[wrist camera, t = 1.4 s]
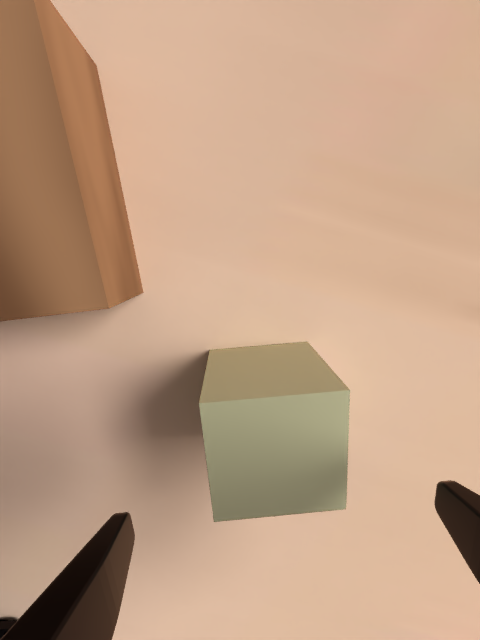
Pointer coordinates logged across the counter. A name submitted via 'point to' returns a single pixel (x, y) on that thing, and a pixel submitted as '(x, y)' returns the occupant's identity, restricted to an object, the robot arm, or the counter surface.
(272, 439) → the green cube
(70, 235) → the walnut block
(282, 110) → the counter surface
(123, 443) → the counter surface
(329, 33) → the counter surface
